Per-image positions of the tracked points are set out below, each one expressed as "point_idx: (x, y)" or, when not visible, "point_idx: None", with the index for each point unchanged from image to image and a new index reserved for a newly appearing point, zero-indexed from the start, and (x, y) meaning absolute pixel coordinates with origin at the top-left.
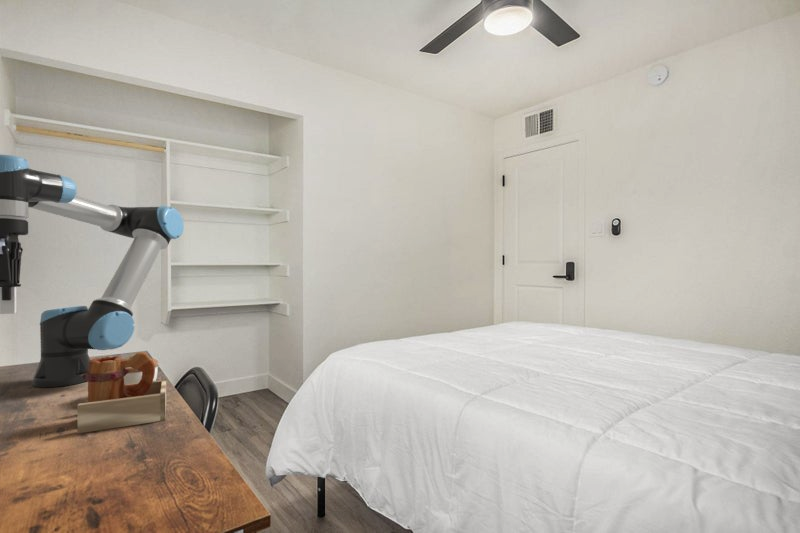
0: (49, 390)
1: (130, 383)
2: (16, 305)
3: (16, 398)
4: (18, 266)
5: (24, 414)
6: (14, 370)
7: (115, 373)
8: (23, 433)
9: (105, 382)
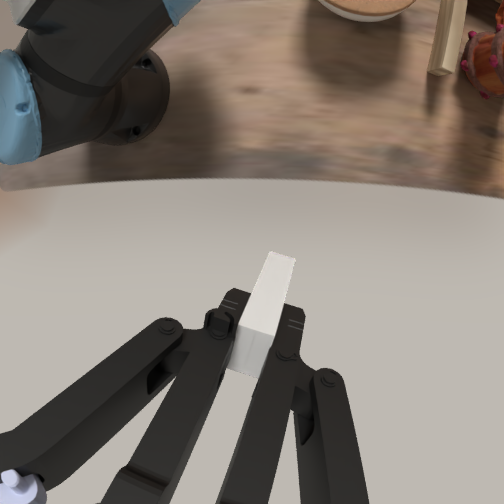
0: (185, 113)
1: (454, 3)
2: (263, 267)
3: (212, 164)
4: (107, 402)
5: (353, 157)
6: (21, 180)
7: None
8: (466, 173)
9: None
